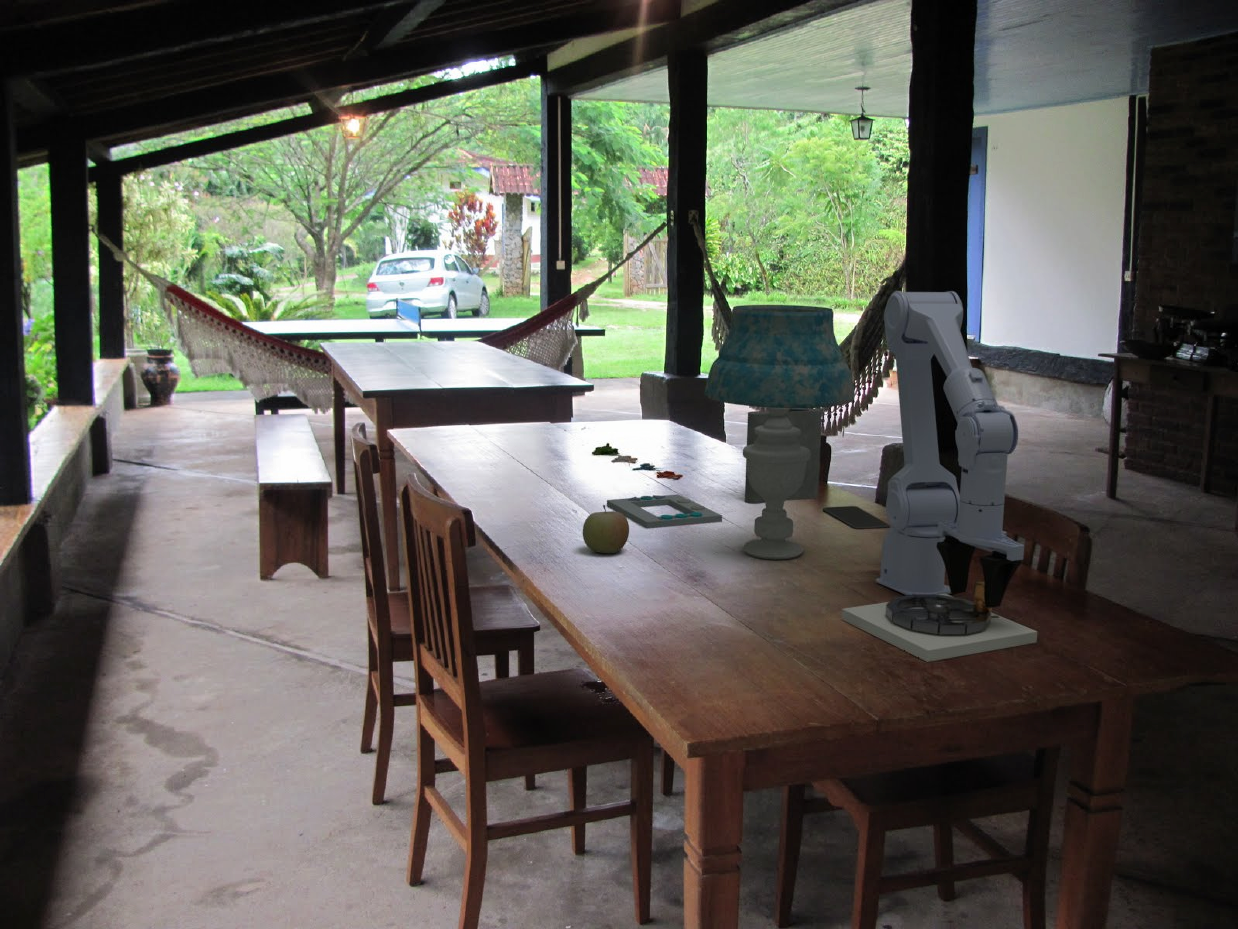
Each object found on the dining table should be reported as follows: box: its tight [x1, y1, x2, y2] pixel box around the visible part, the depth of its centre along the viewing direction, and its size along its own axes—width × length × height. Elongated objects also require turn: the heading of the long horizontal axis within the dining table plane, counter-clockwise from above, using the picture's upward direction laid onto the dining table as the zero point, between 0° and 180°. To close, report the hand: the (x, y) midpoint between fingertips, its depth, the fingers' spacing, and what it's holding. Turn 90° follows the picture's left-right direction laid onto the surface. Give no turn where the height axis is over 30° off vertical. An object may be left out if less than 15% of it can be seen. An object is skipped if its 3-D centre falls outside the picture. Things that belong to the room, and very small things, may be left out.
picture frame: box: [606, 493, 723, 530], centre depth 228 cm, size 18×2×15 cm
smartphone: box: [822, 505, 891, 530], centre depth 226 cm, size 7×1×15 cm
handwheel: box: [886, 581, 993, 634], centre depth 164 cm, size 14×13×5 cm
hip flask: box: [744, 408, 823, 505], centre depth 239 cm, size 16×4×20 cm, turn 112°
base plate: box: [841, 594, 1038, 663], centre depth 165 cm, size 18×18×2 cm
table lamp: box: [704, 304, 856, 561], centre depth 198 cm, size 24×24×40 cm
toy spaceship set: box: [591, 442, 684, 480], centre depth 272 cm, size 35×6×3 cm, turn 30°
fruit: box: [582, 504, 630, 554], centre depth 201 cm, size 8×7×8 cm
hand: (975, 599), depth 166 cm, fingers open, 6 cm apart
